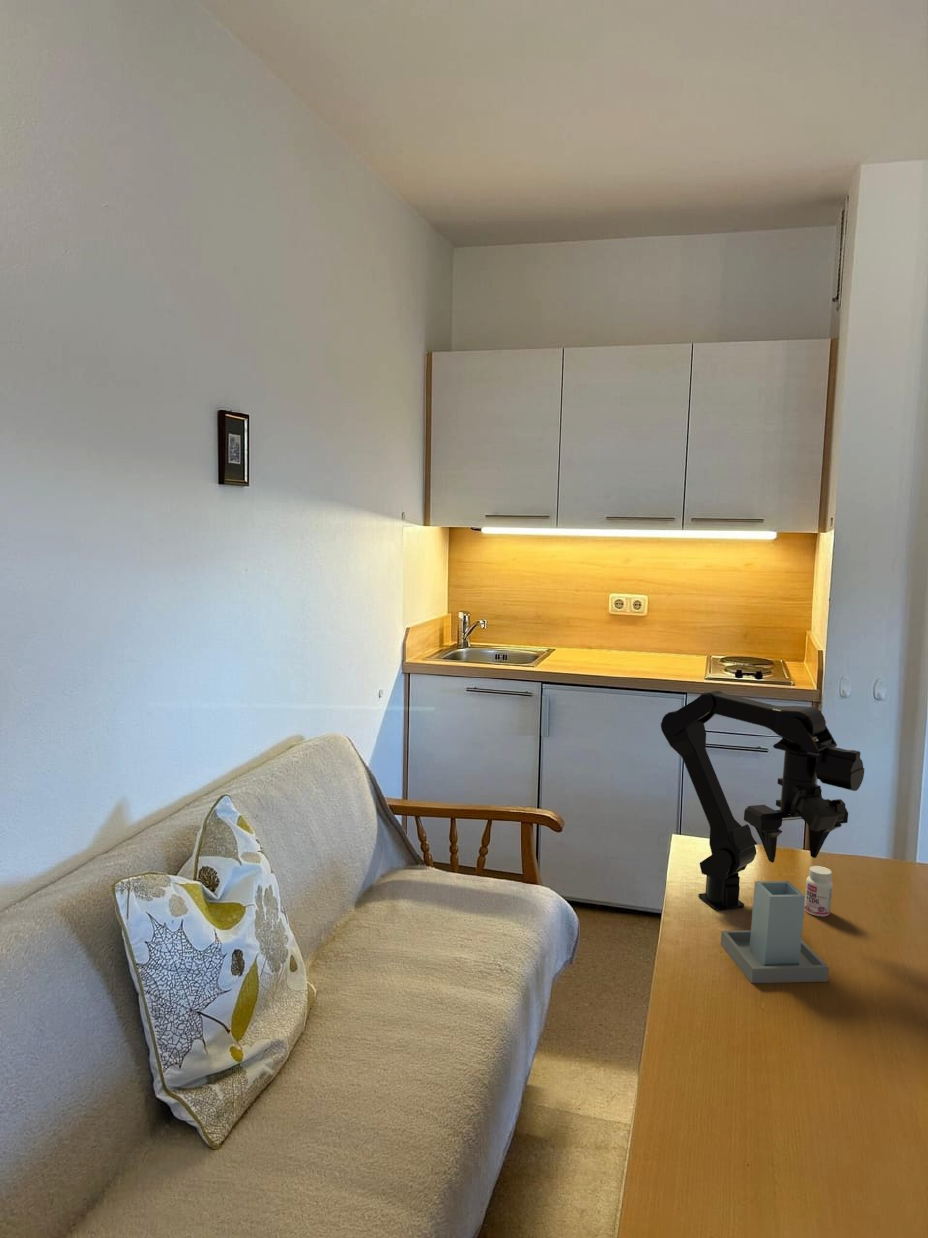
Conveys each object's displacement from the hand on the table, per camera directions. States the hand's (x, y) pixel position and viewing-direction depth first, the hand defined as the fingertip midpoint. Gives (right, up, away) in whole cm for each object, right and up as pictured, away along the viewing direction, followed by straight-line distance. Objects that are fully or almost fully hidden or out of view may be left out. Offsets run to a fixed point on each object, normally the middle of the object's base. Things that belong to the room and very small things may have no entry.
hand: (792, 859), depth 165 cm
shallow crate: (-8, -14, -12) cm, 20 cm away
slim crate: (-8, -14, -12) cm, 20 cm away
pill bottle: (+8, -13, +9) cm, 17 cm away
